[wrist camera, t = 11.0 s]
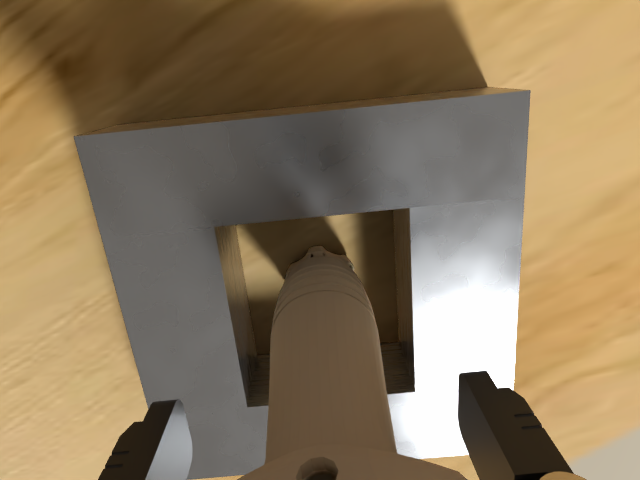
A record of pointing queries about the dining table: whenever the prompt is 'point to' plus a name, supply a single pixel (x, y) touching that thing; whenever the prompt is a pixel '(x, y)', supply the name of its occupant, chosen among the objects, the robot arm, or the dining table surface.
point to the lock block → (305, 202)
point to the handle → (330, 383)
